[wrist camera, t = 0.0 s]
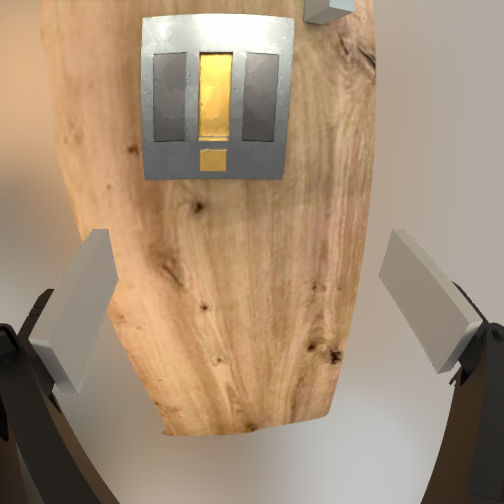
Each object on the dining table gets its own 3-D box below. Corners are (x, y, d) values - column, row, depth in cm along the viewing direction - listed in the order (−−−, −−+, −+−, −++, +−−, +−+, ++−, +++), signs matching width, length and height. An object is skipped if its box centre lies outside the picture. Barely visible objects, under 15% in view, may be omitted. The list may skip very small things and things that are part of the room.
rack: (144, 22, 28) (136, 17, 25) (293, 23, 30) (301, 18, 27) (145, 172, 39) (138, 182, 35) (282, 171, 41) (288, 181, 37)
